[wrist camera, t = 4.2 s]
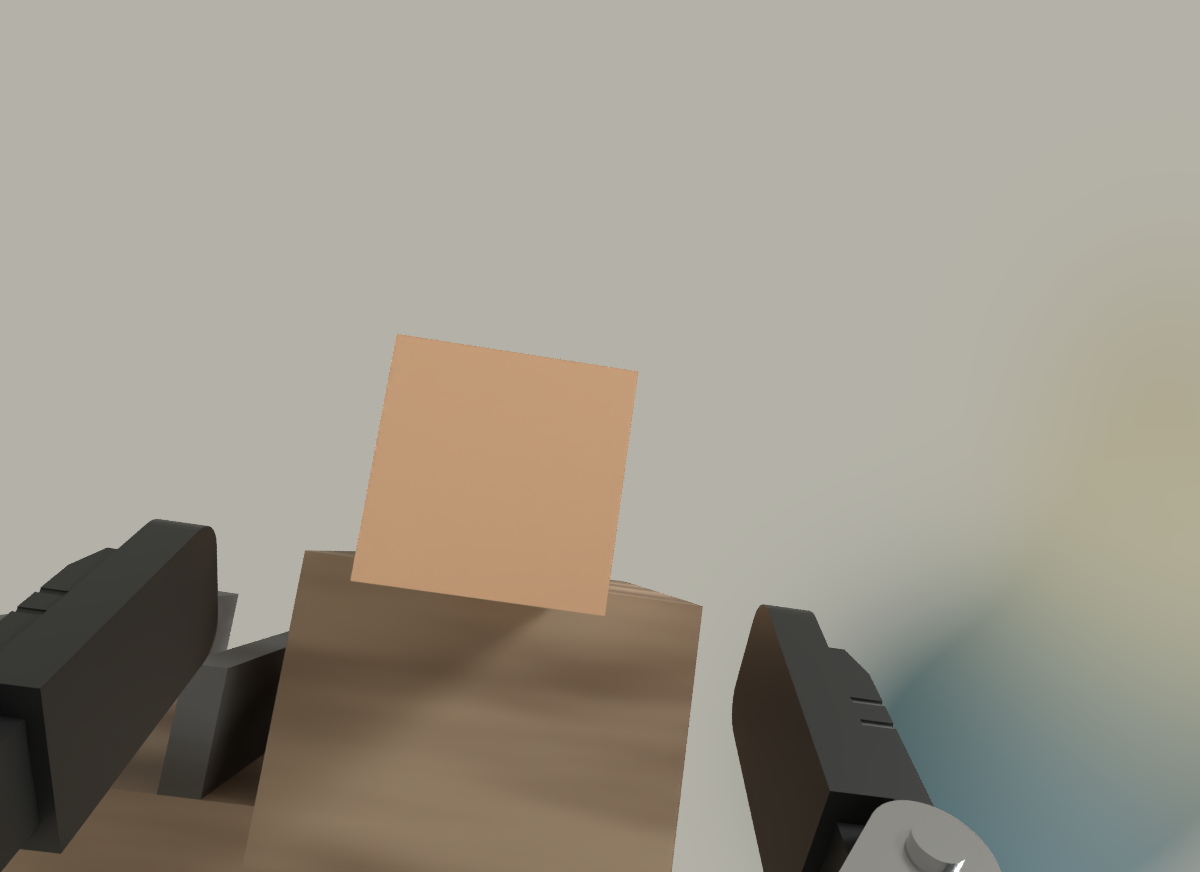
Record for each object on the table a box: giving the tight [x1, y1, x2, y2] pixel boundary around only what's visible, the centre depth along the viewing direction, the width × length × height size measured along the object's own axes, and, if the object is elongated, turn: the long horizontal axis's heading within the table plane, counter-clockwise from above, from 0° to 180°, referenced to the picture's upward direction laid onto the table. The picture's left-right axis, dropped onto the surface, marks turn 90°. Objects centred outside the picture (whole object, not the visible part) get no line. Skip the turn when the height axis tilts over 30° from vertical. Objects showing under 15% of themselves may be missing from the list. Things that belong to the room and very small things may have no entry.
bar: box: [350, 334, 638, 616], centre depth 24 cm, size 26×4×4 cm, turn 4°
